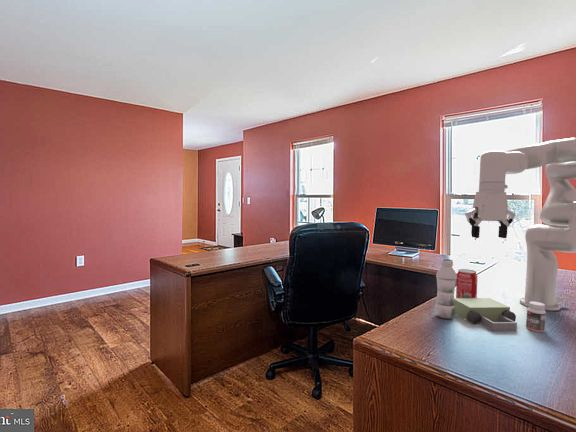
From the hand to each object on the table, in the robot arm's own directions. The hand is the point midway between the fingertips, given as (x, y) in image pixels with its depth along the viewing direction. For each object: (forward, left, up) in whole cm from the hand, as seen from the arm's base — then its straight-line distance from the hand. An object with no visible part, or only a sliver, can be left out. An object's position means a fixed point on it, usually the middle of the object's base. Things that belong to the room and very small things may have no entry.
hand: (488, 237), depth 113 cm
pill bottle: (-9, +11, -28) cm, 31 cm away
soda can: (-2, -14, -28) cm, 31 cm away
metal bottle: (+15, +1, -28) cm, 32 cm away
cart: (+2, +3, -28) cm, 28 cm away
